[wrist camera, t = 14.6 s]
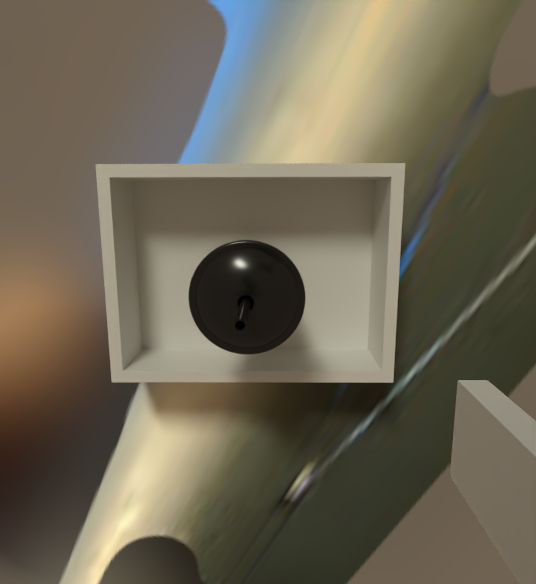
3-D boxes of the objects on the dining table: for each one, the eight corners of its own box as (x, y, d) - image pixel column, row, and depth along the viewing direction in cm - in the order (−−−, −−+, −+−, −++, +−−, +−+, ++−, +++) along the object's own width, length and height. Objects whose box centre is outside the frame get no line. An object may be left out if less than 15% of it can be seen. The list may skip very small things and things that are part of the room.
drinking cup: (277, 318, 44) (281, 415, 25) (202, 290, 44) (146, 365, 24) (307, 244, 43) (337, 284, 23) (230, 214, 42) (194, 228, 23)
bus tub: (383, 169, 42) (405, 163, 35) (374, 355, 46) (393, 382, 39) (124, 169, 42) (95, 164, 36) (135, 354, 46) (111, 382, 39)
